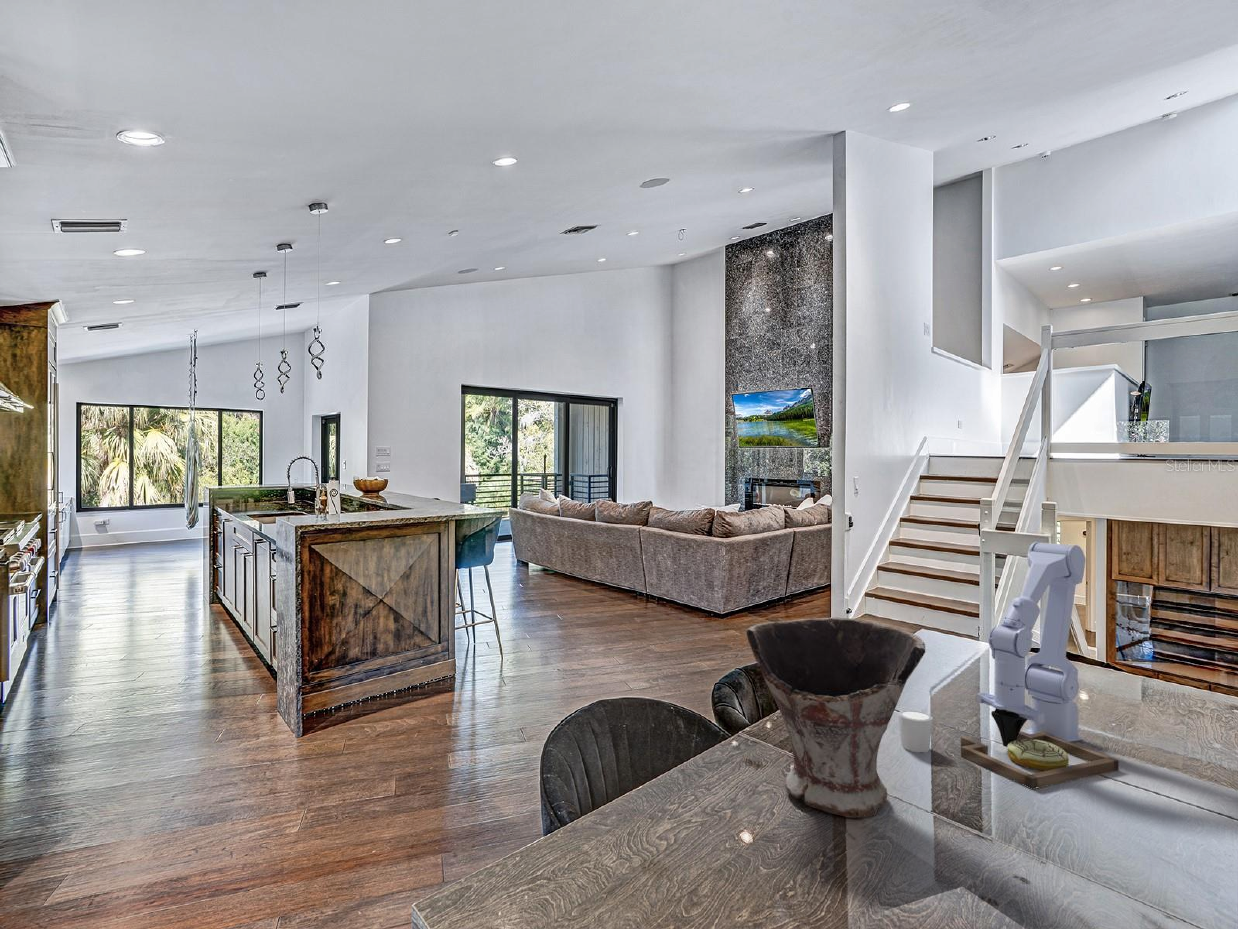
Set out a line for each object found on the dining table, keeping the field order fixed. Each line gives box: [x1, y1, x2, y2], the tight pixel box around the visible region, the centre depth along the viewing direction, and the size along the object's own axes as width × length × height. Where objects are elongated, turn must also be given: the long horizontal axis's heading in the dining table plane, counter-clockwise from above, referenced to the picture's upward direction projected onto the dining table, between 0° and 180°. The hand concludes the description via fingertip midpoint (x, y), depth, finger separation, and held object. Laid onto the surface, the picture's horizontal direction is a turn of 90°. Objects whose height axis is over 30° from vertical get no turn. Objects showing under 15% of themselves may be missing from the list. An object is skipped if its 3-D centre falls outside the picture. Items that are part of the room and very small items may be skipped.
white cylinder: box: [898, 709, 934, 754], centre depth 147 cm, size 7×7×7 cm
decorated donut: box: [1006, 739, 1070, 772], centre depth 140 cm, size 10×11×4 cm
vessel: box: [746, 617, 926, 819], centre depth 125 cm, size 30×27×30 cm
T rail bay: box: [960, 730, 1120, 790], centre depth 142 cm, size 20×25×2 cm
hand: (1009, 746), depth 146 cm, fingers closed
